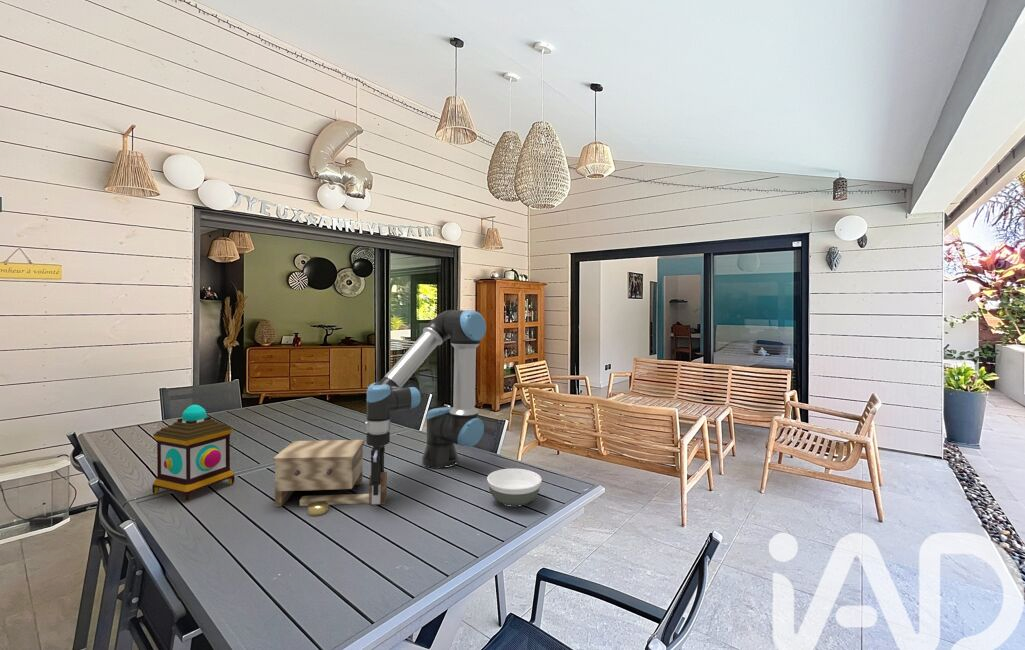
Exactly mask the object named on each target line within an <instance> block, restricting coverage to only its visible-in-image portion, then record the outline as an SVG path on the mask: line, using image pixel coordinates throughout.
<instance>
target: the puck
mask: <svg viewBox="0 0 1025 650" xmlns="http://www.w3.org/2000/svg"><path fill="white" fill-rule="evenodd" d="M328 512H329V505H328V502H326V501H317V502H313V503H310V504H309V505H308V506H307V515H308V516H310V517H319V516H323V515H326V514H327V513H328Z"/></svg>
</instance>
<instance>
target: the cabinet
mask: <svg viewBox="0 0 1025 650" xmlns="http://www.w3.org/2000/svg"><path fill="white" fill-rule="evenodd" d="M365 442H366V440H365V439H340V440H339V439H337V440H335V439H334V440H333V439H331V440H330V439H329V440H328V439H326V440H292V441H291V442H290V443H289V444H288V445H287V446H286V447H285V448H284V449H282V450H281V451H280V452H279V453H277V454H276V455H275V456H274V457H273V458H272V462H274V507H283V506H284V504H285V503H286V502H287V501H288V499H289V498H290V497H291V496H292V494H294V493H295V491H298V492H299V491H300V492H301V491H324V490H325V491H326V490H327V491H328V490H329V491H330V490H353V488H354V486H356V485H362V484H363V481H364V480H363V475H364V473H363V472H364V471H363V470H364V469H363V468H364V467H363V465H364V463H363V461H364V457H363V456H364V454H363V453H364V448H363V447H364V444H365Z"/></svg>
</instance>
